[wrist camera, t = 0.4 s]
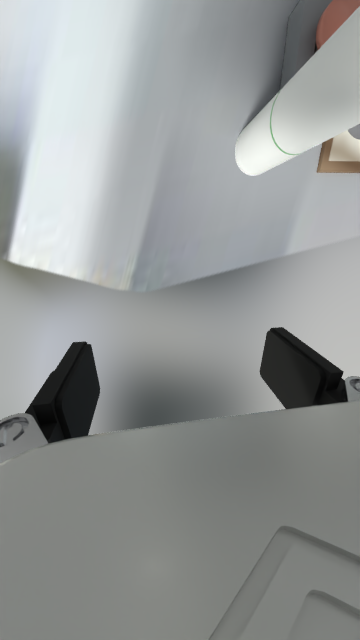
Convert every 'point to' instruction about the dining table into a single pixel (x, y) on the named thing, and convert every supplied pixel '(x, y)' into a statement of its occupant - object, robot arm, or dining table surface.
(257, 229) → the dining table surface
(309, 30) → the button housing
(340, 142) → the sketch board
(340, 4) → the button
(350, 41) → the cylindrical container
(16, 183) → the dining table surface
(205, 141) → the dining table surface
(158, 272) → the dining table surface
